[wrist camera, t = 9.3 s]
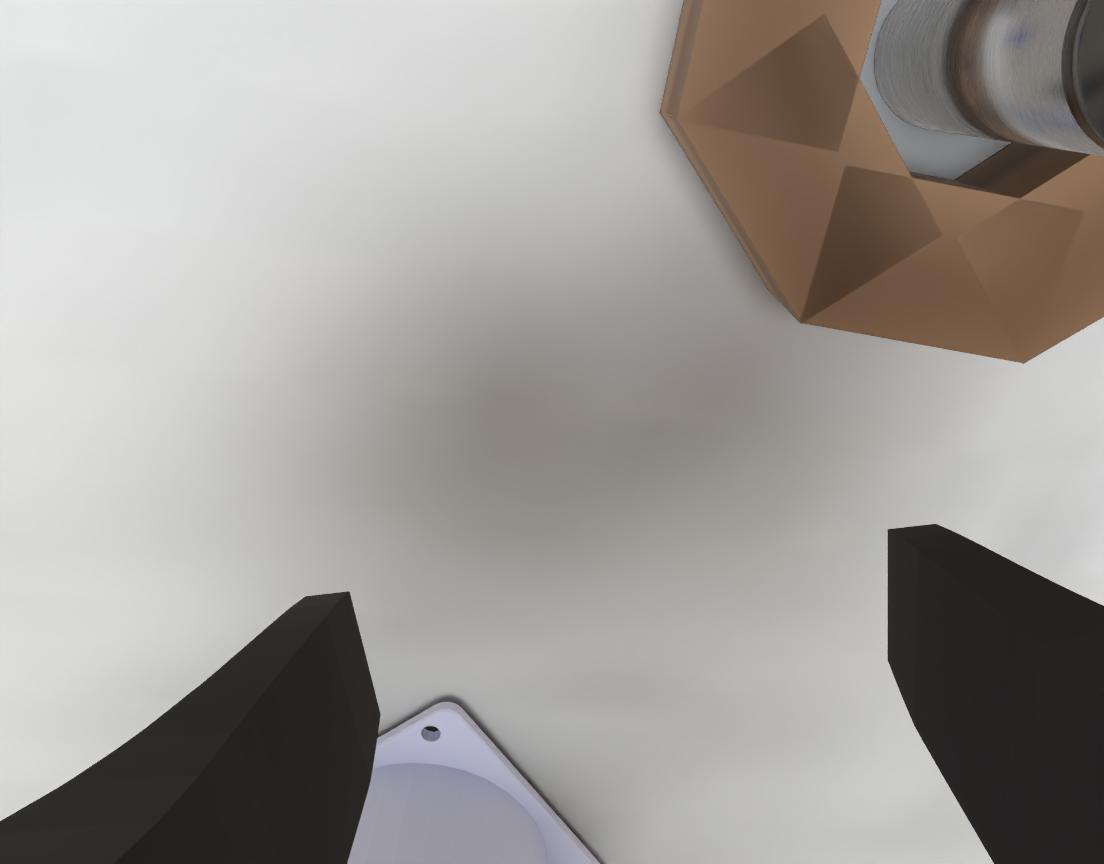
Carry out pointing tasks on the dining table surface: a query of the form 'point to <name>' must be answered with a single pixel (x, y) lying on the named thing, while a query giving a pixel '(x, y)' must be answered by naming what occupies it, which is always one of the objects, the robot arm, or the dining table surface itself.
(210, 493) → the dining table surface
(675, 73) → the walnut bead
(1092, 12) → the metal cylinder
